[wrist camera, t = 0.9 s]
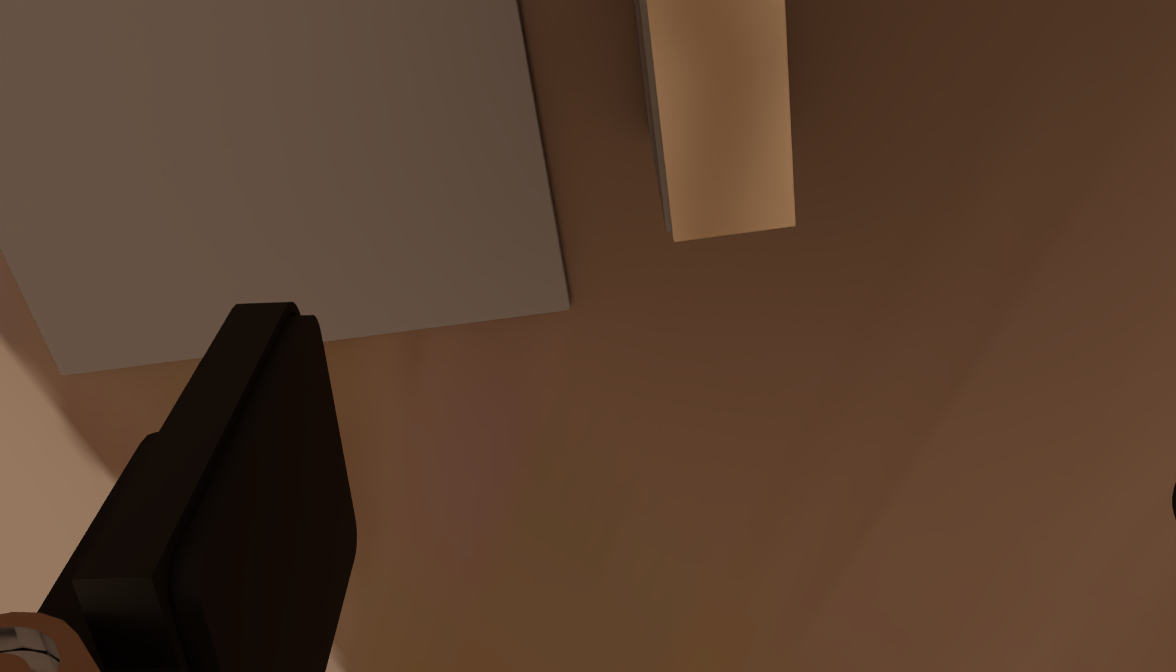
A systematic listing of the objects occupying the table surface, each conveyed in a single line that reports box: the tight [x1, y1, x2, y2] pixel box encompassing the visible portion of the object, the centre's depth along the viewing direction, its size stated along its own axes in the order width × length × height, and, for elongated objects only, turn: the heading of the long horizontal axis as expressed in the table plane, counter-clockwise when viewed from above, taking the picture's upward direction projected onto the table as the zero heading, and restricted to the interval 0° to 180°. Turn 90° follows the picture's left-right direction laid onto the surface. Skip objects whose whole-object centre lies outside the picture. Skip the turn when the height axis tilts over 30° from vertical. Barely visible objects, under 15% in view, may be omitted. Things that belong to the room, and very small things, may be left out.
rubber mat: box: [0, 0, 571, 376], centre depth 32 cm, size 18×14×1 cm
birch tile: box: [633, 0, 795, 242], centre depth 27 cm, size 3×7×8 cm, turn 8°
